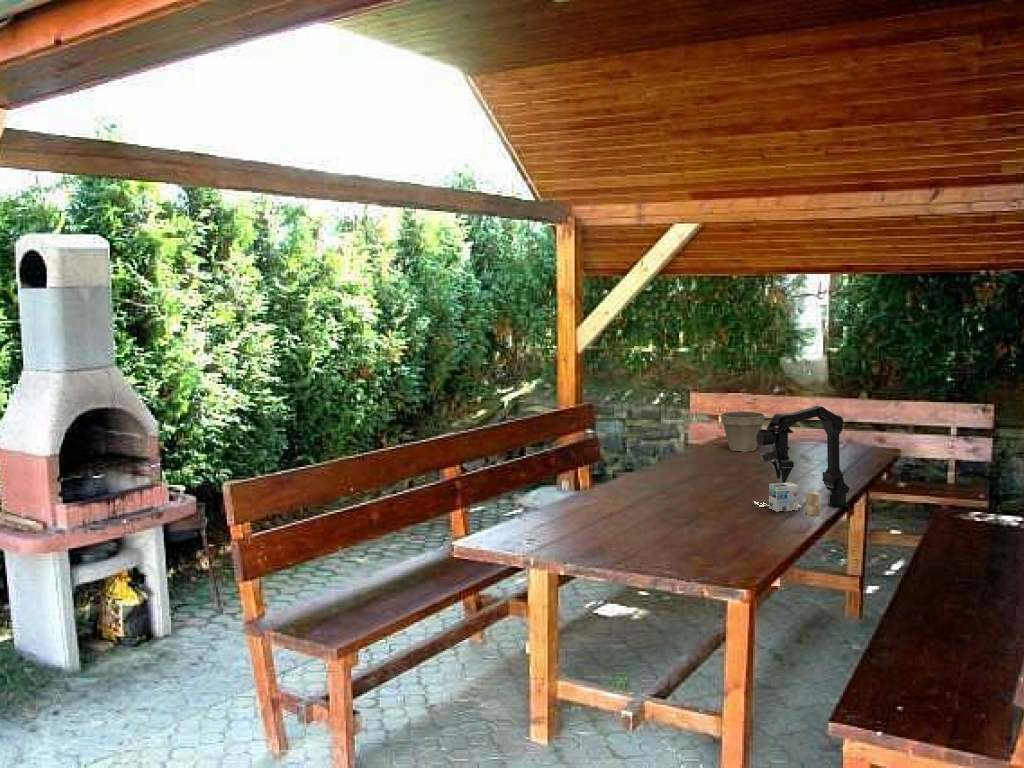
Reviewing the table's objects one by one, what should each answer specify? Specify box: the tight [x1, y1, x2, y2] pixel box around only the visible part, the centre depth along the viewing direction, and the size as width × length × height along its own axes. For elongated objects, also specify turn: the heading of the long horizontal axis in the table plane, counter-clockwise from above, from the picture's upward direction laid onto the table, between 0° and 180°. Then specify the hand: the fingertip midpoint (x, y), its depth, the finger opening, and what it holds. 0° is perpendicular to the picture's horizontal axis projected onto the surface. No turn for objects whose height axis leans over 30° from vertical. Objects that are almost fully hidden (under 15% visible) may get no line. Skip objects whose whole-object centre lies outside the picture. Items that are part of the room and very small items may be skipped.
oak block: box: [805, 491, 820, 516], centre depth 375 cm, size 4×4×9 cm
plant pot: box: [720, 411, 765, 453], centre depth 534 cm, size 25×25×22 cm
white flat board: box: [752, 500, 803, 508], centre depth 394 cm, size 18×12×1 cm, turn 89°
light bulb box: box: [768, 481, 800, 513], centre depth 384 cm, size 11×7×11 cm, turn 106°
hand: (780, 480), depth 381 cm, fingers open, 9 cm apart
